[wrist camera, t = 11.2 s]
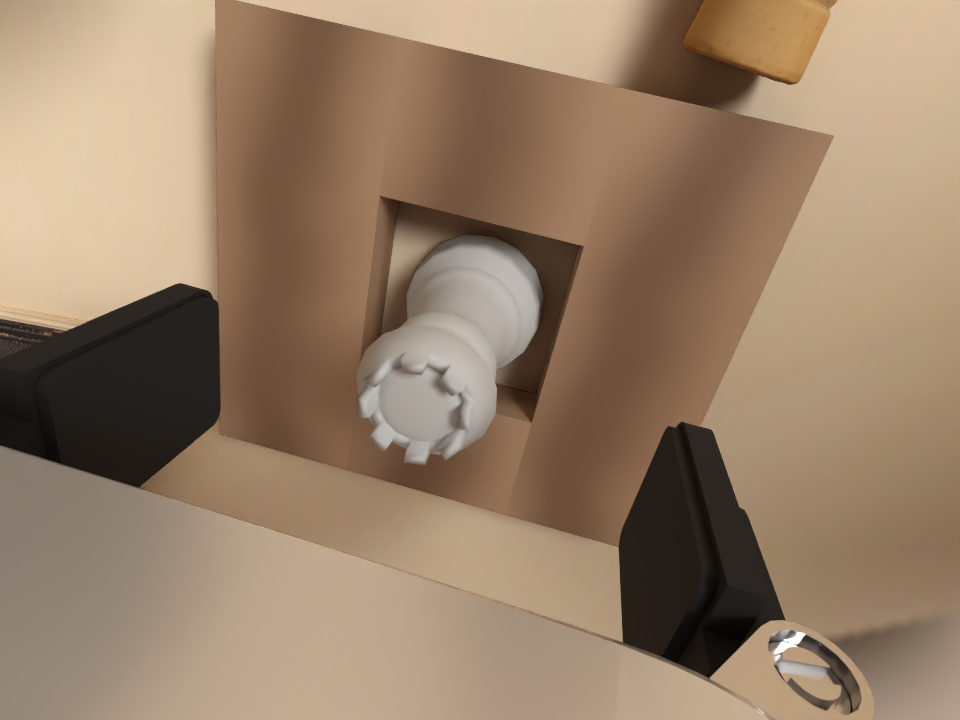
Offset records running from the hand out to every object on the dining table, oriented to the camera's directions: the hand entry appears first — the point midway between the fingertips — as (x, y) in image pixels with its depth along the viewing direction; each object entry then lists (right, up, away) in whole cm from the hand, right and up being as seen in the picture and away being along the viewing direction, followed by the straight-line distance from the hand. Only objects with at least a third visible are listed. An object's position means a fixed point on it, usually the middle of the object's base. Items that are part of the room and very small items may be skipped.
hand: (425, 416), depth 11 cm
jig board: (+1, +3, +7) cm, 8 cm away
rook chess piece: (+1, +3, +8) cm, 8 cm away
